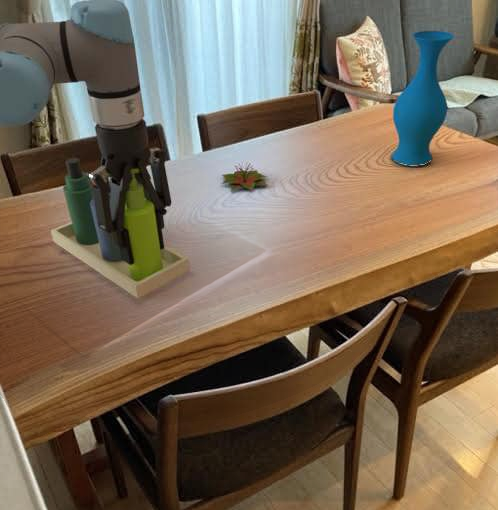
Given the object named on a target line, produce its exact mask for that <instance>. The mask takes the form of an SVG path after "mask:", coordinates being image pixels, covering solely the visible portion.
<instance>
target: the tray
mask: <svg viewBox="0 0 498 510" xmlns="http://www.w3.org/2000/svg"><path fill="white" fill-rule="evenodd" d="M50 234H51V237H52V240H53V242H54V243H55V244H56V245H57V246H59V247H61V248H62V249H64V250H65V251H67V252H68V253H70V254H71V255H73V256H74V257H75V258H77V259H78V260H80V261H81V262H83V263H84V264H86V265H87V266H89V267H90V268H92V269H93V270H95V271H96V272H98V273H99V274H101V275H102V276H103V277H105V278H106V279H108V280H110V281H111V282H112V283H114V284H115V285H117V286H118V287H120V288H122V289H123V290H124V291H126V292H128V293H129V294H130V295H132V296H133V297H135V298H136V299H140V298H142V297H144V296H145V295H148V294H149V293H152V292H153V291H155V290H156V289H159V288H161V287H162V286H164V285H165V284H167V283H169V282H172V281H173V280H175V279H178V278H179V277H180V276H182V275H184V274H186V273H188V272H189V271H190V260H189V257H186V256H185V255H183V254H181V253H180V252H178V251H176V250H174V249H172V248H170V247H169V246H167V245H165V244H164V249H162V250H161V249H160V251H161V257H162V264H163V269H162V270H160V271H158V272H156V273H154V274H152V275H151V276H149V277H147V278H145V279H143V280H141V281H136V280H134V279H133V278H132V277H131V274H130V269H129V264H128V263H126V262H125V261H120V262H109V261H106V260H104V259H103V257H102V253H101V249H100V244H99V243H96V244H93V245H82V244H79V243H78V242H77V240H76V236H75V232H74V229H73V225H72V221H70V222H68V223H65V224H63V225H60V226H58V227H56V228H54V229H51V230H50Z"/></svg>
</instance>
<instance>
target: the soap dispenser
mask: <svg viewBox="0 0 498 510" xmlns="http://www.w3.org/2000/svg"><path fill="white" fill-rule="evenodd" d="M131 173H132V176H133V179H132V182H131V183H129V188H128V191H127V192H126V201H125V213H124V225H123V228H125V229H127V230H128V233H129V238H130V244H131V249H132V254H133V259H134V264H132V265H130V264H129V269H130V274H131V277H132V278H133V279H134V280H136V281H141V280H143V279H145V278H147V277H149V276H151V275H152V274H154V273H156V272H158V271H160V270H162V269H163V264H162V257H161V251H160V244H159V237H158V230H157V223H156V217H155V210H154V204H153V203H152V202H151V201H149V200H146V199H145V195H144V189H143V185H142V184H140V183H137V180H136V179H135V176H134V173H139V168H134V169H131ZM106 177H107V178H109V179H110V177H112V176H111V175H110V174H106Z"/></svg>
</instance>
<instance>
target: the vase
mask: <svg viewBox="0 0 498 510" xmlns="http://www.w3.org/2000/svg"><path fill="white" fill-rule="evenodd" d="M454 37H455V36H454V34H452V33H450V32H446V31H441V30H440V31H439V30H422V31H418V32H415V33H413V34H412V38H413V39H414V40H415V41H416V44H417V46H418V49H419V63H418V67H417V70H416V73H415V75H414V77H413V78H412V80H411V81H410V82H409V84H408V85H407V86H406V87H405V89H404V90H402V92H401V93H400V94H399V95H398V97H397V99H396V101H395V103H394V106H393V111H392V117H393V124H394V126H395V129H396V133H397V135H398V136H397V137H398V144H397V148H396V149H395V150H394V151H393V153H392V154H391V156H392V157H391V159H392V158H393V159H394V160H395V161H397V162H399V163H397V162H395V161H394V160H393V159H392V160H393V161H394V162H395V163H396V164H398V165H401V166H405V167H411V168H412V167H413V168H415V167H416V168H417V167H419V166H409V165H420V164H425V163H427V162H429V161H430V160H432V161H433V155H432V153H431V151H430V146H431V142H432V140H433V138H434V137H435V136H436V134H437V133H438V131H439V130H441V127H442V126H443V124H444V123H445V120H446V118H447V114H448V103H447V99H446V96H445V94H444V92H443V90H442V87H441V86H440V83H439V80H438V74H437V67H438V62H439V57H440V55H441V52H442V50H443V49H444V48H445V46H446V45H447V44H448V43H450V41H451V40H452V39H454ZM400 163H403V164H407V165H403V164H400ZM429 164H430V163H428V164H426V165H421V166H420V167H424V166H427V165H429Z"/></svg>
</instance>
